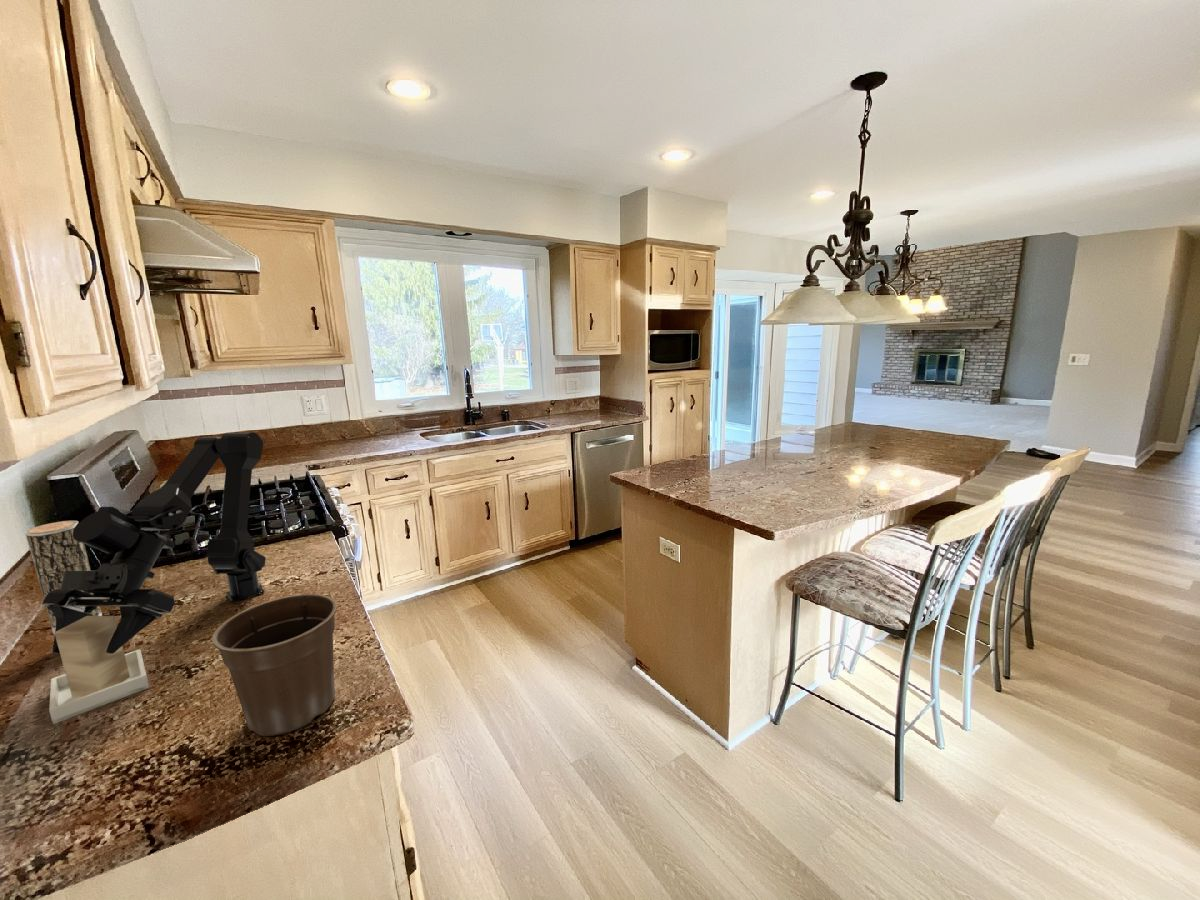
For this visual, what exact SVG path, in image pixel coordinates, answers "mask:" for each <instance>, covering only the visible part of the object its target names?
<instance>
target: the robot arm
mask: <svg viewBox="0 0 1200 900" xmlns="http://www.w3.org/2000/svg"><path fill="white" fill-rule="evenodd" d="M193 445H194V446H193V447H192V448H191V450H190V451H189V452H188V454H187V455H186V456H185V458H184V459H182V461H181V463H180V464H179V465H178V467H177V468H176V469H175V470H174V472H173V473H172V474H171V476H170V477H169V478H168V480H167V481H166V482H165V483H164V484H163V485H162V486H161V487H159V488H157V489H156V490H154V491H152V492H150V493H148V494H147V495H146V496H145V497H143V498H142V499H141V500H140V501H139V502H137V504H136V505H134V507H133V509H132V510H130V511H128V512H125V513H123V512H121V511H120V510H119V509H117V508H116V507H114V506H113V505H112V506H108V505H107V506H99V508H98V510H97V511H96V512H93V513H91V514H89V515H88V516H87V515H86V517H84V518H83V519H82V520H81V521H80V522H79V521H78V524H77V525H76V526H75V528H74V531H73V537H74V539H75V540H77V541H79V542H81V543H84V545H86V546H88V547H91V548H93V549H97V550H99V551H101V552H104V553H105V554H110V555H112V554H114V557H113V558H112V560H111V561H110V562H103V563H102V564H100V565H99V567H98V568H97V569H96V570H95V569H93V570H90V571H64V575H63V579H62V584H61V588H60V589H56V590H54V591H52V592H50V593H48V595H47V596H46V598H45V599H43V601H42V602H41V605H43V606H45V607H46V606H47V609H46V611H47V610H49V611H52V613H53V614H54V616H55V618H56V630H55V632H56V631H58V630H60V629H62V628H64V627H66V626H68V625H70V624H72V623H74V622H76V621H78V620H80V619H82V618H84V617H86V616H93V615H91V614H87V613H90V612H92V611H93V610H95V609H96V608H97V607H100V608H101V607H103V608H104V607H105V608H106V607H119V611H120V620H119V622H118V623H117V628H116V630H115V632H114V634H113V636H112V638H111V640H110V643H109V645H108V648H107V651H106V653H110V654H113V653H115V652H116V651H117V650H118V649H119V648H120V647H122V646H124V645H126V643H127V642H129V641H130V640H131V639H132V638H133V637H134V636H136V635H137V634H138V633H139V632H141V631H142V630H143V629H145V628H146V627H148V625H149V624H151V623H152V622H153V621H156V619H158V618H159V619H161V618H162V616H163V614H170V613H171V612H172V611H173V608H174V606H175V604H176V601H175V597H174V596H173V595H171V594H169V593H166V592H163V591H161V590H158V589H155V588H153V589H152V588H142V587H143V585H144V583H145V581H146V580H148V579H153V578H154V577H155V574H156V573H155V572H153V571H151V570H152V568H153V566H154V565H155V562H156V561H157V559H158V557H159V556H160V554H161V552H162V549H174V548H175V544H174V541H173V540H172V539H171V535H170V534H158V533H157V532H154V531H174V530H177V529H179V528H180V527H182V526H183V525H184V524H185V521H186V520H187V518H188V516H189V514H190V513H191V510H192V498H193V495H194V493H195V492H196V491H197V489H198V488H199V487H200V485H201V484H202V482H203V481H204V480H205V478H206V477H207V475H208V474H209V472H210V471H211V470H212V469H213V467H214V466H215V464H216V463H217V461H219V460H220V462H221V464H222V465H223V467H224V468H225V473H224V474H225V475H224V488H223V496H222V497H223V499H222V509H221V510H222V511H221V520H220V530H219V532H218V533H217V534H216V536H215V537H214V538H209V539H208V541H207V551H206V554H205V558H207V563H208V565H209V566H210V567H211V568H212V570H213V571H214V572H215V574H216V575H226V578H227V583H228V584H227V585H228V590H229V591H226V593H225V594H227V595H226V596H227V598H228V599H229V601H230V602H231V603H237V602H240V601H243V600H246V599H248V597H249V598H251V597H250V596H253V597H255V596H254V595H256V596H258V595H257V594H259V593H262V592H264V593H265V590H264V588H263V587H262V586H261V585H260V583H259V577H258V572H259V571H262V570H263V568H264V567H266V559H267V558H266V556H264V555H262V554H260V553H259V552H257V551H256V550H255V541H254V539H253V538H252V536H251V534H250V533H249V531H248V520H249V509H250V508H249V507H250V498H251V486H252V472H253V470H254V468H255V467H256V466H257V464H258V463H259V462H260V460H261V459H262V454H263V450H264V440H263V438H261V437H260V435H259V434H258V433H256V432H252V431H251V432H226V433H224V434H222V435H221V436H201V437H200V438H197V439H196V440H195V442H194V443H193ZM79 590H83V591H84V592H82V591H79ZM261 591H262V592H261ZM85 592H87V593H85ZM88 593H93V595H92V594H88ZM262 594H263V593H262ZM259 595H260V594H259ZM245 598H246V599H245ZM242 599H243V600H242ZM239 600H240V601H239ZM52 653H53V654H59V655H60V651H59V648H58V644H57V641H56V637H54V636H53V644H52Z"/></svg>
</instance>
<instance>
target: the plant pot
mask: <svg viewBox="0 0 1200 900" xmlns="http://www.w3.org/2000/svg"><path fill="white" fill-rule="evenodd" d="M337 605H338V604H337V602H336V600H335V599H334V598H332V597H330V596H327V595H324V594H319V593H301V594H300V593H299V594H294V595H293V594H292V595H288V596H287V595H286V596H284V597H279V598H274V599H271V600H267V601H265V602H262V603H259V604H256V605H253V606H251V607H249V608H246V609H244V610H242V611H240V612H238V613H236V614H234V615H233V616H231V617H230V618H228V619H227V620H226V621H224V622H223V623H222V624H220V625H219V626H218V627H217V628H216V630H215V631H214V633H213V634H212V638H211V641H212V643H213V646H214V647H215V648H216V649H217V650H219V653H220V656H221V658H222V659H221V660H222V662H223V664H224V666H226V668H228V671H229V674H230V676H231V680H232V682H233V685H234V688H235V691H236V694H237V697H238V700H239V703H240V706H241V709H242V713H243V716H244V719H245V722H246V726H247V728H248V731H249V732H252V731H253V732H254V733H256V735H257V736H261V737H262V736H263V737H264V736H265V737H269V736H270V737H272V736H278V735H283V734H287V733H290V732H293V731H296V730H298V729H301V728H303V727H305V726H307V725H309V724H311V723H312V721H313V720H314V719H315V718H316V717H317V716H320V715H323V714H324V713H325V712H326V711H327V710H328V709H330V707H331V705H332V704H333V701H334V700H335V696H336V695H335V694H336V688H335V687H336V686H335V685H336V684H335V663H334V662H335V661H334V632H335V629H336V627H335V625H336V624H335V614H336V612H337Z"/></svg>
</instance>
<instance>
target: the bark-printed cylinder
mask: <svg viewBox="0 0 1200 900" xmlns="http://www.w3.org/2000/svg"><path fill="white" fill-rule="evenodd" d="M78 523H79V521H78V520H62V521H56V522H50V523H45V524H42V525H37V526H34V527H31V528H29V529H26V530H25V536H26V541H27V543H28V547H29V550H30V554H31V557H32V562H33V565H34V569H35V573H36V576H37V581H38V584H39V588H40V591H41V594H42V597H43V600H44V599H45V598H46V596H47V595H48V593H50V592H52V591H54V590H56V589H60V588H61V584H62V579H63V575H64V571H90V570H91V566H90V561H89V557H88V554H87V550H86V546H85V544H84V543H81V542H79V541H77V540H75V539H74V537H73V531H74V528H75V526H76V525H77V524H78ZM79 591H82V592H84V591H83V590H79ZM85 593H87V592H85ZM88 594H92V595H93V593H88ZM45 609H46V612H47V616H48V619H49V625H50V627H51V630H52V634H53V638H54V637H55V633H54V632H55V630H56V618H55V616H54V614H53V613H52V611H49V610H47V606H45ZM87 614H91V615H93V616H103V613H102V610H101V607H97V608H96V609H95V610H93V611H92V612H90V613H87Z"/></svg>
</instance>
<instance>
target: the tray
mask: <svg viewBox="0 0 1200 900" xmlns="http://www.w3.org/2000/svg"><path fill="white" fill-rule="evenodd" d="M124 654H125V658H126V663H127V667H128V671H129V675H130V677H129V678H128V679H126V680H125V681H123V682H122V683H119V684H116V685H113V686H111V687H108V688H105V689H102V690H100V691H97V692H94V693H91V694H89V695H86V696H83V697H72V695H71V691H70V688H69V684H68V680H67V677H66V673H65V674H61V675H58V676H56V677H53V678H51V679H50V693H49V694H50V695H49V707H48V708H49V709H48V710H49V714H50V719H51V721H52V722H51V723H52V725H56V724H58V723H60V722H63V721H66V720H68V719H71V718H74V717H76V716H80V715H81V714H82V715H83V714H85V713H87V712H90V711H92V710H94V709H98V708H101V707H103V706H106V705H107V704H110V703H113V702H115V701H119V700H121V699H123V698H127V697H129V696H131V695H133V694H137V693H139V692H142V691H145V690H147V689H149V688H150V685H149V684H150V683H149V680H148V677H147V673H146V672H147V671H146V667H145V663H144V660H143V655H142V651H141V648H139V649H136V650H132V651H130V652H127V653H124Z"/></svg>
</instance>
